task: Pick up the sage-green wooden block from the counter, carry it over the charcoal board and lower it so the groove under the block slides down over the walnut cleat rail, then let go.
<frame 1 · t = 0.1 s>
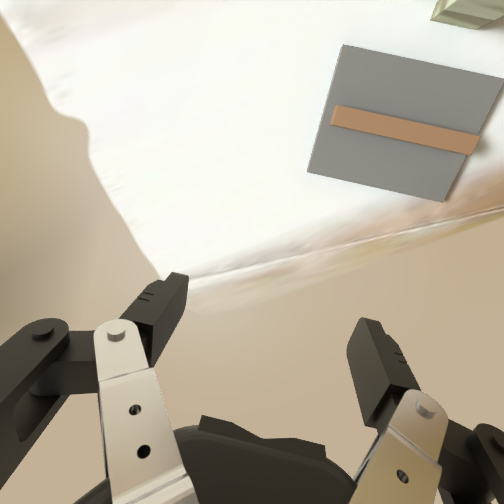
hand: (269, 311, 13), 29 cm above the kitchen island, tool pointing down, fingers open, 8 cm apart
cleat board: (392, 129, 35), on the kitchen island
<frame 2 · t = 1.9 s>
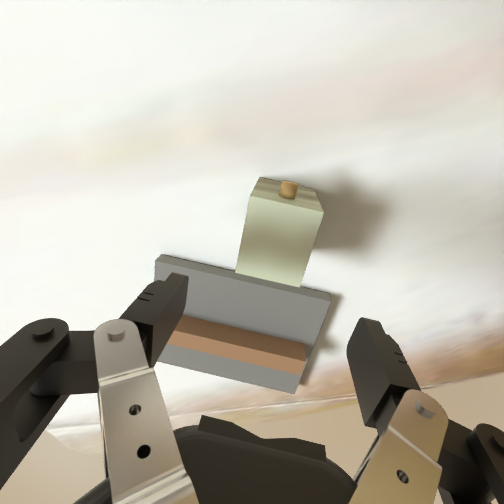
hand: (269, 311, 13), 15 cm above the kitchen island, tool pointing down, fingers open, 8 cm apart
sage block: (279, 214, 26), on the kitchen island
cleat board: (233, 324, 32), on the kitchen island
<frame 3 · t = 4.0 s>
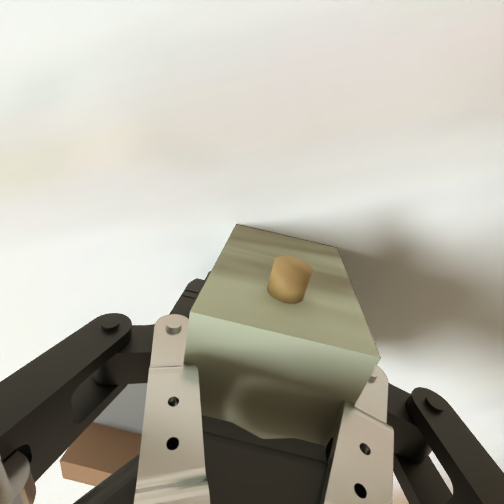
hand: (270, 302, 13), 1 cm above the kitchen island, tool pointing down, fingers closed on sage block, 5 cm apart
sage block: (272, 287, 15), on the kitchen island, touching gripper
cleat board: (203, 435, 21), on the kitchen island
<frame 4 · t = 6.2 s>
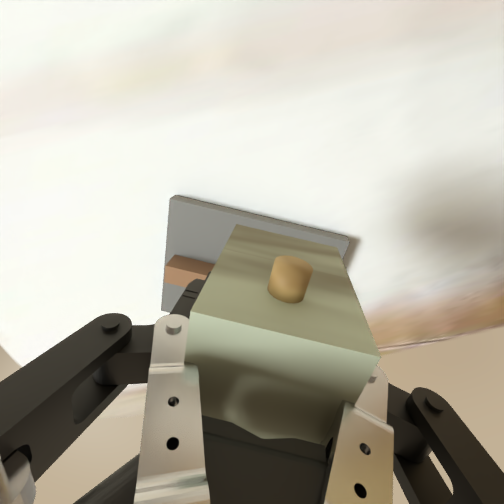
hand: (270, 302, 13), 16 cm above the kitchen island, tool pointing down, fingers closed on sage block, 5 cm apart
sage block: (272, 286, 15), point 14 cm above the kitchen island, touching gripper
cleat board: (247, 273, 31), on the kitchen island
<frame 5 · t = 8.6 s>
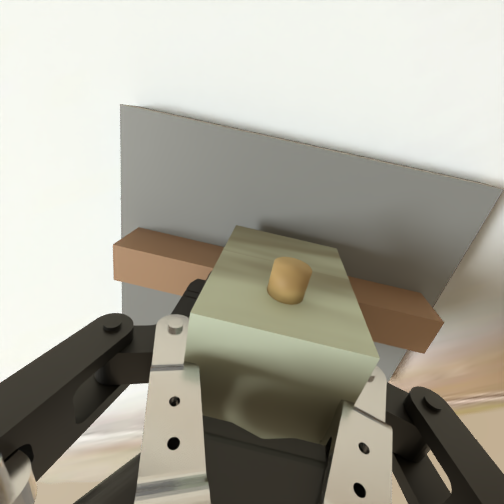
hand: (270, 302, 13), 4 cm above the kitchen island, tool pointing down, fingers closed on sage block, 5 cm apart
sage block: (272, 287, 15), point 3 cm above the kitchen island, touching gripper
cleat board: (274, 263, 17), on the kitchen island
when the fingers open (4 cm above the kitchen island, at t = 8.8 s): sage block drops 1 cm, resting on cleat board.
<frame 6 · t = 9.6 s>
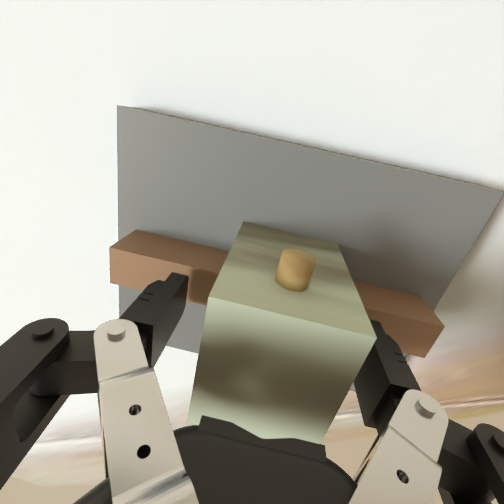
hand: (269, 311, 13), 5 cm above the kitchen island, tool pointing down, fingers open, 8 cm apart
sage block: (276, 280, 16), point 1 cm above the kitchen island, touching cleat board
cleat board: (273, 265, 17), on the kitchen island
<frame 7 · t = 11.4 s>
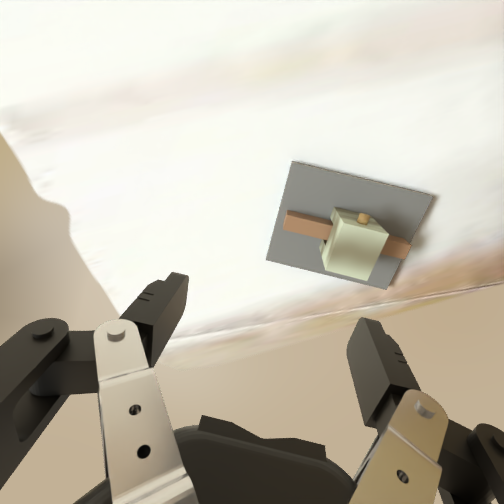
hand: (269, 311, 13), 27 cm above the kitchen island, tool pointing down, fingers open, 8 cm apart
sage block: (344, 232, 37), point 1 cm above the kitchen island, touching cleat board
cleat board: (340, 227, 39), on the kitchen island
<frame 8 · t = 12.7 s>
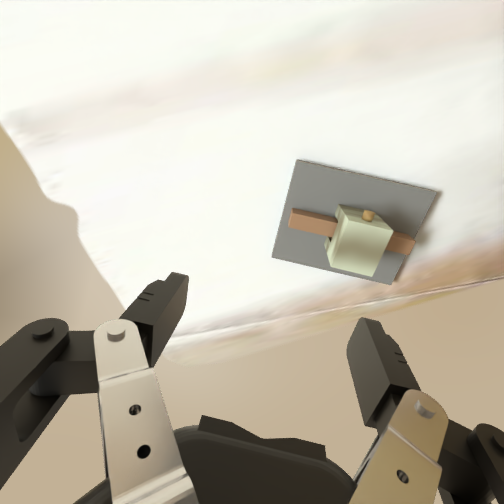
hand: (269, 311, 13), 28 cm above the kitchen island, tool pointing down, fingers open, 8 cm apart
sage block: (348, 229, 38), point 1 cm above the kitchen island, touching cleat board
cleat board: (345, 224, 39), on the kitchen island
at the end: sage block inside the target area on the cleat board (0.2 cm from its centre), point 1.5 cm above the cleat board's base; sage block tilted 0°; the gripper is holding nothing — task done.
